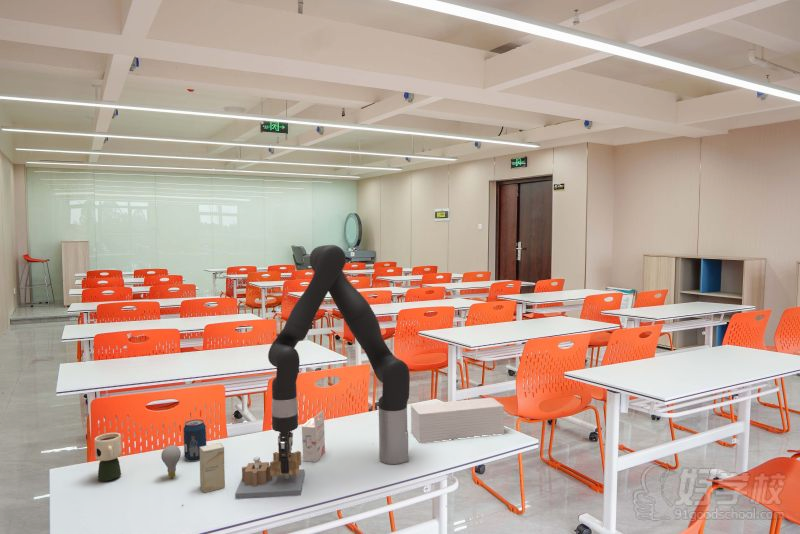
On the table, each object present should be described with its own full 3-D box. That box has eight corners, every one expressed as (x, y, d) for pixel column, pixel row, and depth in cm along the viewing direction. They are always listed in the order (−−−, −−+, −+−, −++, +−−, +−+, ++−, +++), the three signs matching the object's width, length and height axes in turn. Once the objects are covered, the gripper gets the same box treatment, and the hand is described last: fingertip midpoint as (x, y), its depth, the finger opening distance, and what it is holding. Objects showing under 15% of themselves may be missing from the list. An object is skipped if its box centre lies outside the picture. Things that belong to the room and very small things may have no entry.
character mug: (94, 475, 172) (92, 433, 171) (120, 469, 176) (118, 429, 175) (98, 488, 163) (96, 444, 162) (125, 481, 167) (123, 439, 166)
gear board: (304, 473, 171) (304, 448, 170) (300, 495, 157) (299, 467, 156) (244, 477, 169) (243, 450, 169) (235, 498, 155) (234, 470, 155)
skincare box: (203, 493, 159) (202, 451, 158) (199, 487, 163) (198, 446, 162) (225, 487, 162) (224, 446, 162) (221, 481, 166) (220, 442, 165)
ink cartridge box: (311, 451, 189) (310, 408, 188) (325, 452, 188) (324, 409, 187) (302, 461, 180) (300, 416, 179) (316, 462, 179) (315, 417, 178)
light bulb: (163, 483, 166) (161, 450, 165) (161, 476, 170) (160, 444, 170) (182, 479, 168) (181, 447, 167) (180, 472, 173) (179, 441, 172)
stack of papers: (492, 425, 212) (491, 397, 212) (504, 434, 202) (504, 405, 201) (411, 433, 204) (410, 405, 204) (419, 444, 194) (419, 414, 193)
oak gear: (301, 463, 169) (301, 450, 168) (298, 475, 160) (298, 461, 160) (273, 465, 168) (273, 452, 168) (270, 476, 160) (269, 463, 160)
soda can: (201, 452, 189) (199, 417, 189) (210, 457, 184) (209, 422, 184) (181, 457, 184) (179, 422, 184) (190, 463, 180) (188, 427, 179)
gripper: (295, 419, 156) (296, 478, 157) (300, 404, 171) (301, 457, 172) (268, 421, 156) (269, 479, 157) (275, 405, 170) (276, 459, 171)
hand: (286, 468), depth 164 cm, fingers closed on oak gear, 6 cm apart
